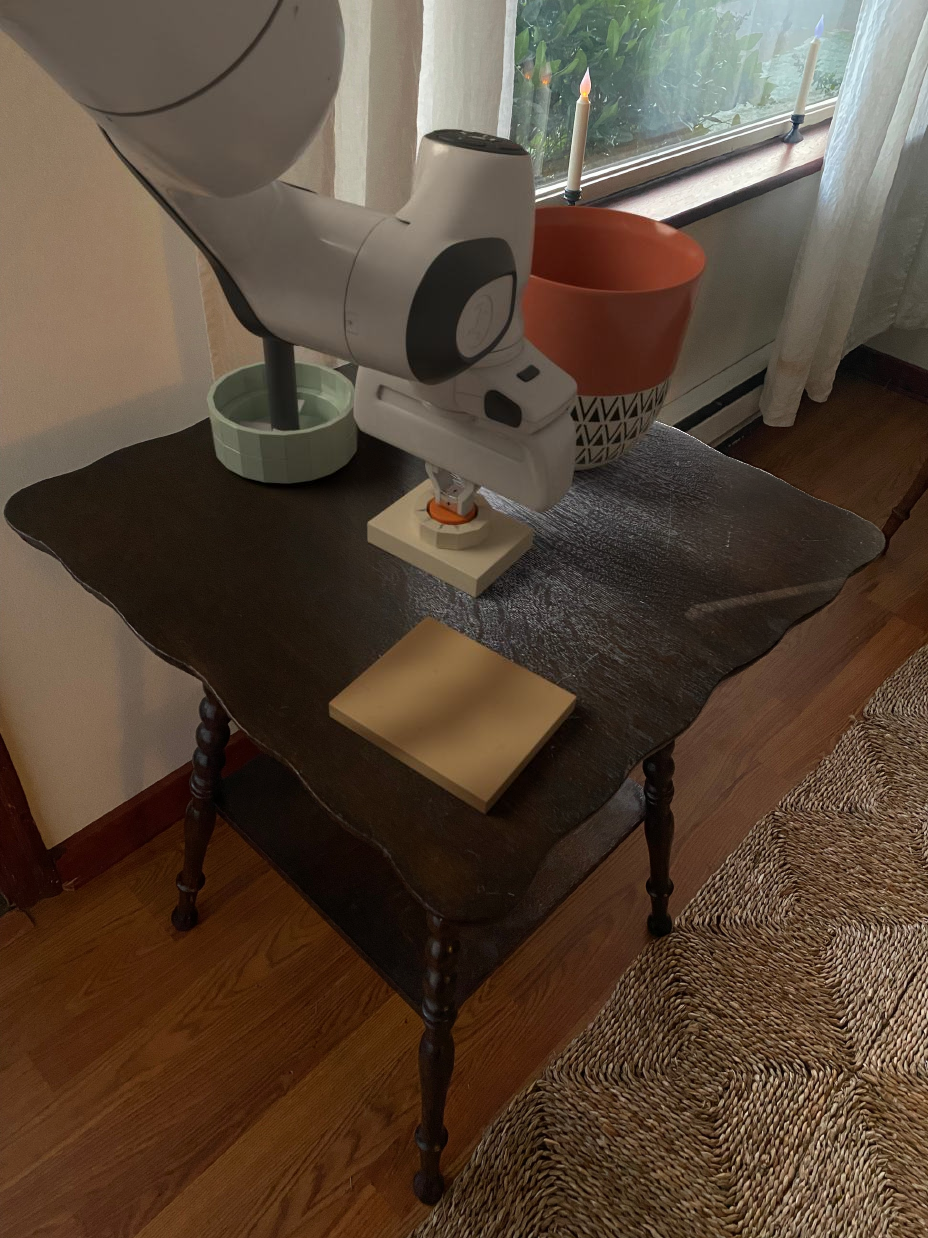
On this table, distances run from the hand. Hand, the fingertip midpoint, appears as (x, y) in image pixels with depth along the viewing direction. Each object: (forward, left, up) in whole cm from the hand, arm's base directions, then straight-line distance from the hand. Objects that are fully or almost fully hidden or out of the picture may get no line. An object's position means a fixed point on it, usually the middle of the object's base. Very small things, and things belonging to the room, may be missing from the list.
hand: (454, 507), depth 78 cm
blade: (-22, +2, -4) cm, 23 cm away
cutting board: (+12, -16, -4) cm, 20 cm away
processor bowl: (-22, +2, -4) cm, 23 cm away
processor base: (0, 0, -4) cm, 4 cm away
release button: (0, 0, -2) cm, 2 cm away
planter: (0, +20, -4) cm, 20 cm away
